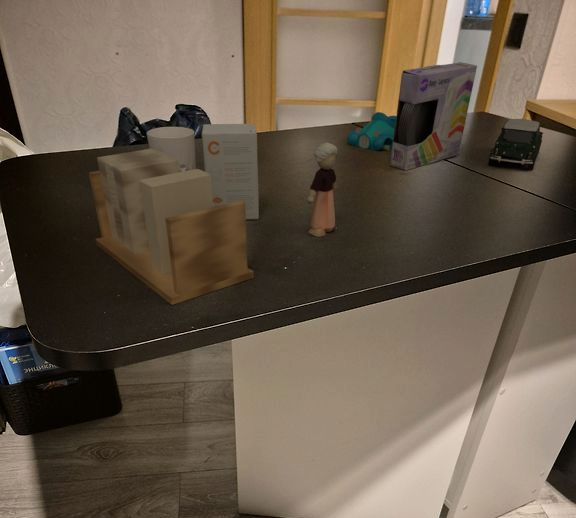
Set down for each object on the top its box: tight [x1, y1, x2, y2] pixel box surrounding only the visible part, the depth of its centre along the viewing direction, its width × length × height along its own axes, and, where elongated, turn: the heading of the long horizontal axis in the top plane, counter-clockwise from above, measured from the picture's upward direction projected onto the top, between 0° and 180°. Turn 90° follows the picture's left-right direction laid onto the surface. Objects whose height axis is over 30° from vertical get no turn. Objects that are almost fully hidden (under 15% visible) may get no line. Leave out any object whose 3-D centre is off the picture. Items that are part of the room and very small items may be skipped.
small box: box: [201, 123, 260, 220], centre depth 84 cm, size 8×6×13 cm
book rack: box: [88, 148, 255, 306], centre depth 70 cm, size 12×22×12 cm, turn 39°
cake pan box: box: [389, 61, 478, 171], centre depth 110 cm, size 19×5×18 cm, turn 129°
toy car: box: [346, 111, 397, 152], centre depth 126 cm, size 11×18×7 cm, turn 137°
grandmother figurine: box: [306, 142, 338, 238], centre depth 79 cm, size 8×4×13 cm, turn 158°
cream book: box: [139, 168, 213, 275], centre depth 68 cm, size 8×3×11 cm, turn 129°
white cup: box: [146, 126, 197, 172], centre depth 94 cm, size 8×8×10 cm
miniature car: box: [487, 118, 544, 171], centre depth 115 cm, size 9×18×8 cm, turn 155°
